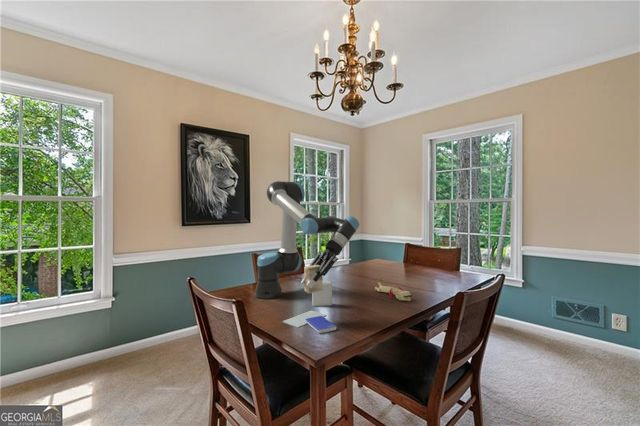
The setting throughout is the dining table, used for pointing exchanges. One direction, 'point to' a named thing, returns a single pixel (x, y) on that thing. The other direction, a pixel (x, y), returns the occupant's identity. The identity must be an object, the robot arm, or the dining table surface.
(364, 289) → the dining table surface
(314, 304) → the photo printer
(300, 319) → the mat
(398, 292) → the cat figure
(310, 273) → the birch block
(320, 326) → the hard drive
